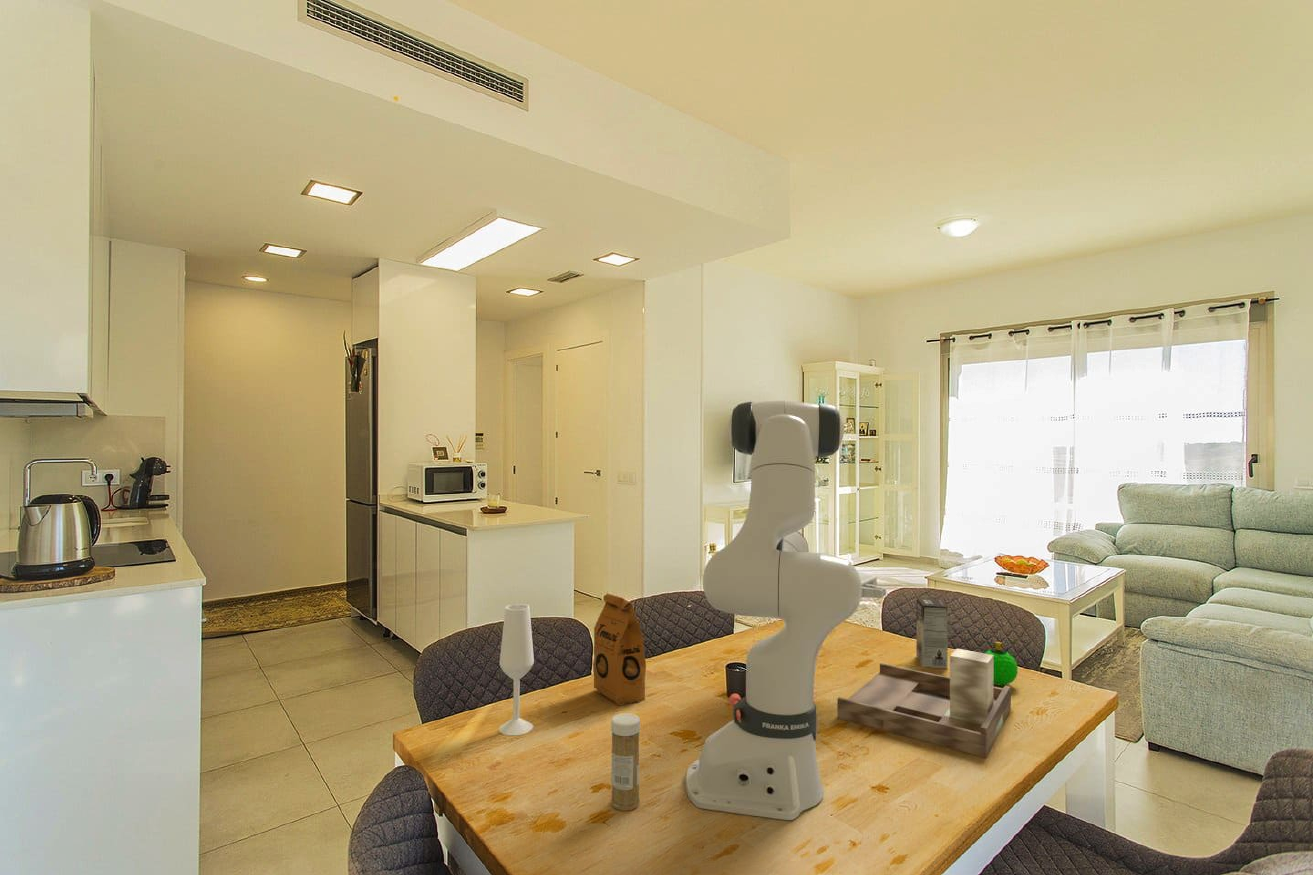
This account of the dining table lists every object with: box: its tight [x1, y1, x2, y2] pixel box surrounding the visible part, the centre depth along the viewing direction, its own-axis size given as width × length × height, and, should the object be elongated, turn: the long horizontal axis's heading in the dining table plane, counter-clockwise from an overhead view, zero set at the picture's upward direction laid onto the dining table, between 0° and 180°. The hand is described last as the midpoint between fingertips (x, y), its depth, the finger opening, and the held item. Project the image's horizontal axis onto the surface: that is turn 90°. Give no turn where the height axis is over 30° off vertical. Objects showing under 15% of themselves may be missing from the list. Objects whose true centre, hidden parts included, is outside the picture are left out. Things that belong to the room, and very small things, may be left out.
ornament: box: [984, 641, 1019, 686], centre depth 154 cm, size 8×8×10 cm
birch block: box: [949, 648, 994, 722], centre depth 131 cm, size 7×6×12 cm
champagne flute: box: [498, 603, 535, 736], centre depth 128 cm, size 7×7×24 cm
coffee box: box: [915, 597, 949, 670], centre depth 169 cm, size 9×6×16 cm
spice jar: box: [610, 712, 641, 812], centre depth 101 cm, size 5×5×14 cm
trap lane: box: [836, 662, 1012, 758], centre depth 137 cm, size 28×28×5 cm
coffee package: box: [592, 592, 647, 706], centre depth 145 cm, size 10×12×22 cm
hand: (884, 593), depth 142 cm, fingers closed
